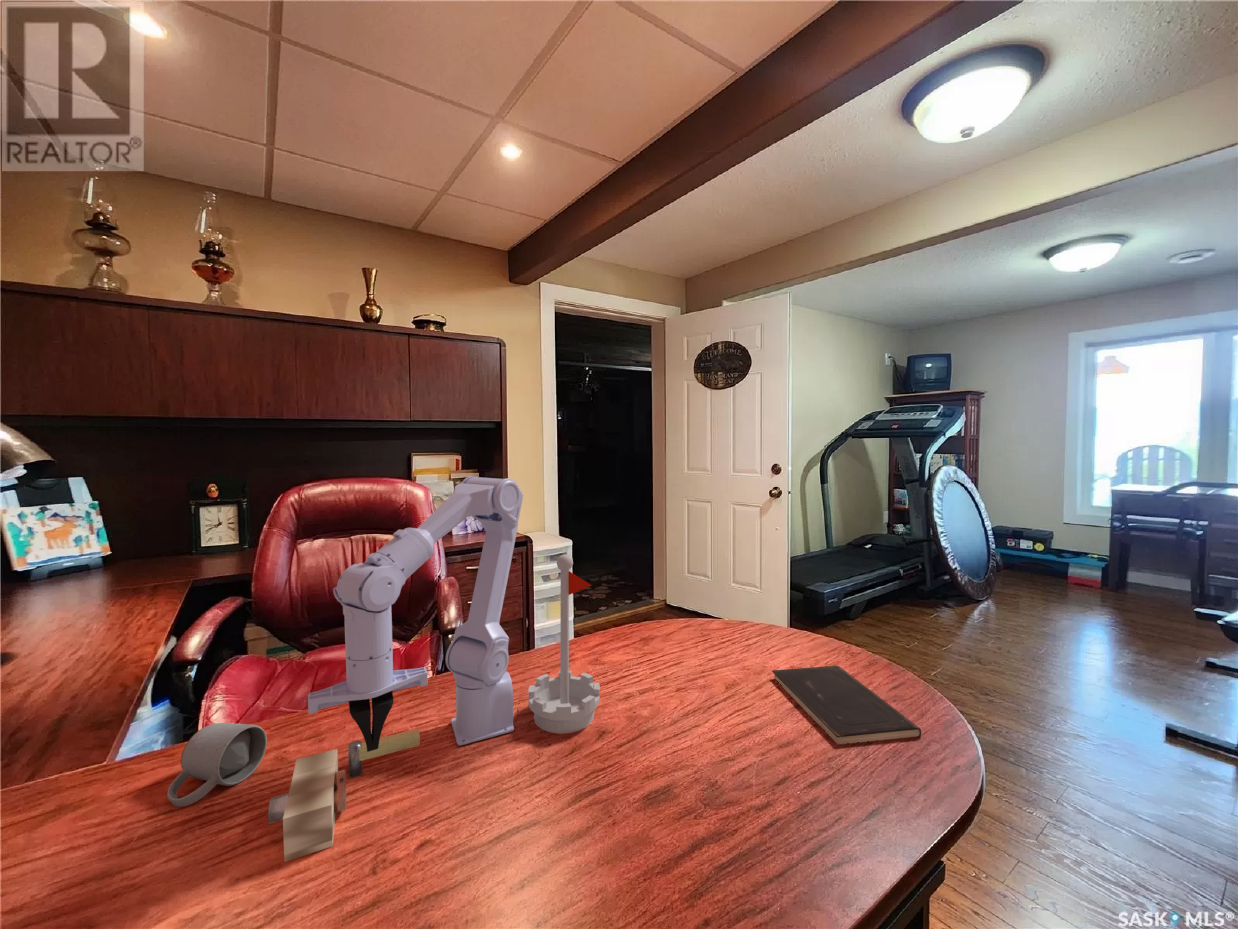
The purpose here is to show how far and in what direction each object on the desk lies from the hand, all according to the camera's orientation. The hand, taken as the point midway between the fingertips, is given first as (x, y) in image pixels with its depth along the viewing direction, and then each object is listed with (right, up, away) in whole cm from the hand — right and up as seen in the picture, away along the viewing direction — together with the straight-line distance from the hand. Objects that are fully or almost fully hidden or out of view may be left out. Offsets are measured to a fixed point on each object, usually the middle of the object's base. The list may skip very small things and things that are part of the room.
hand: (372, 746), depth 67 cm
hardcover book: (+77, -8, +26) cm, 82 cm away
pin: (-7, -8, -3) cm, 11 cm away
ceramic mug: (-25, -8, +4) cm, 27 cm away
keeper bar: (-2, -8, +8) cm, 11 cm away
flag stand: (+24, -7, +22) cm, 33 cm away
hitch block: (-6, -8, -3) cm, 11 cm away
